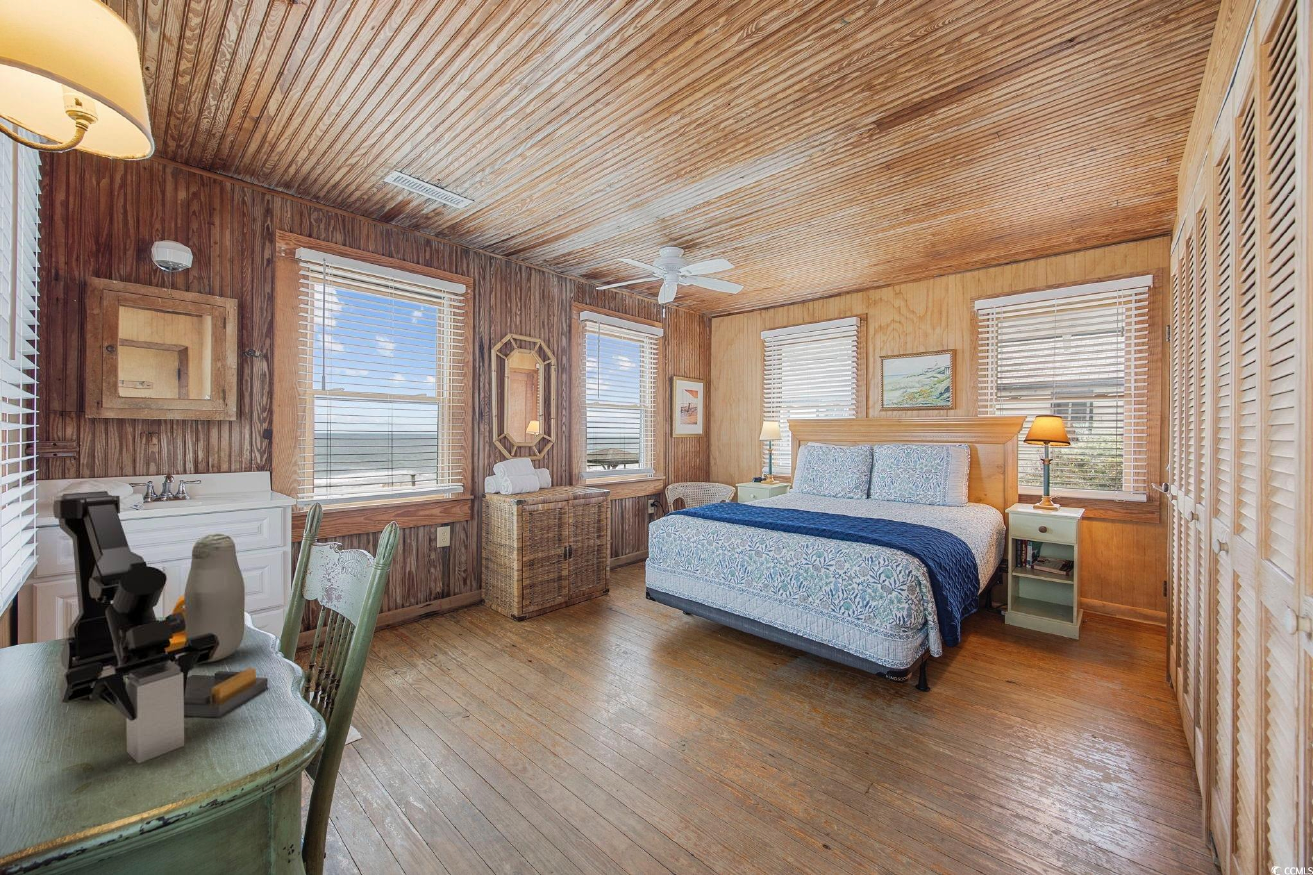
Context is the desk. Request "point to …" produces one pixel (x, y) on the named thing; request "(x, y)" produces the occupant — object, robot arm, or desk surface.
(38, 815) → the desk surface
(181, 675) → the block
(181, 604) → the bracket
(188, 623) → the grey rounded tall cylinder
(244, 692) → the grey base plate
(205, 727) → the desk surface
